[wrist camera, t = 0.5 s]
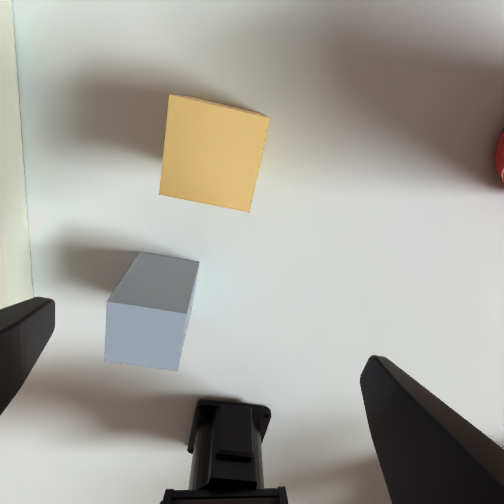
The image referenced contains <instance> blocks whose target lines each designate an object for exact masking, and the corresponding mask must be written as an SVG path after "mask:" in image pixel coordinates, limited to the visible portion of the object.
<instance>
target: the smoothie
mask: <svg viewBox="0 0 504 504" xmlns="http://www.w3.org/2000/svg"><path fill="white" fill-rule="evenodd" d="M495 163H496V170H497V173H498V174H499V176H500V178H501V179H502V181H503V182H504V130H503V132H502V134H501V136H500V138H499V140H498V143H497V148H496V153H495Z"/></svg>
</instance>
